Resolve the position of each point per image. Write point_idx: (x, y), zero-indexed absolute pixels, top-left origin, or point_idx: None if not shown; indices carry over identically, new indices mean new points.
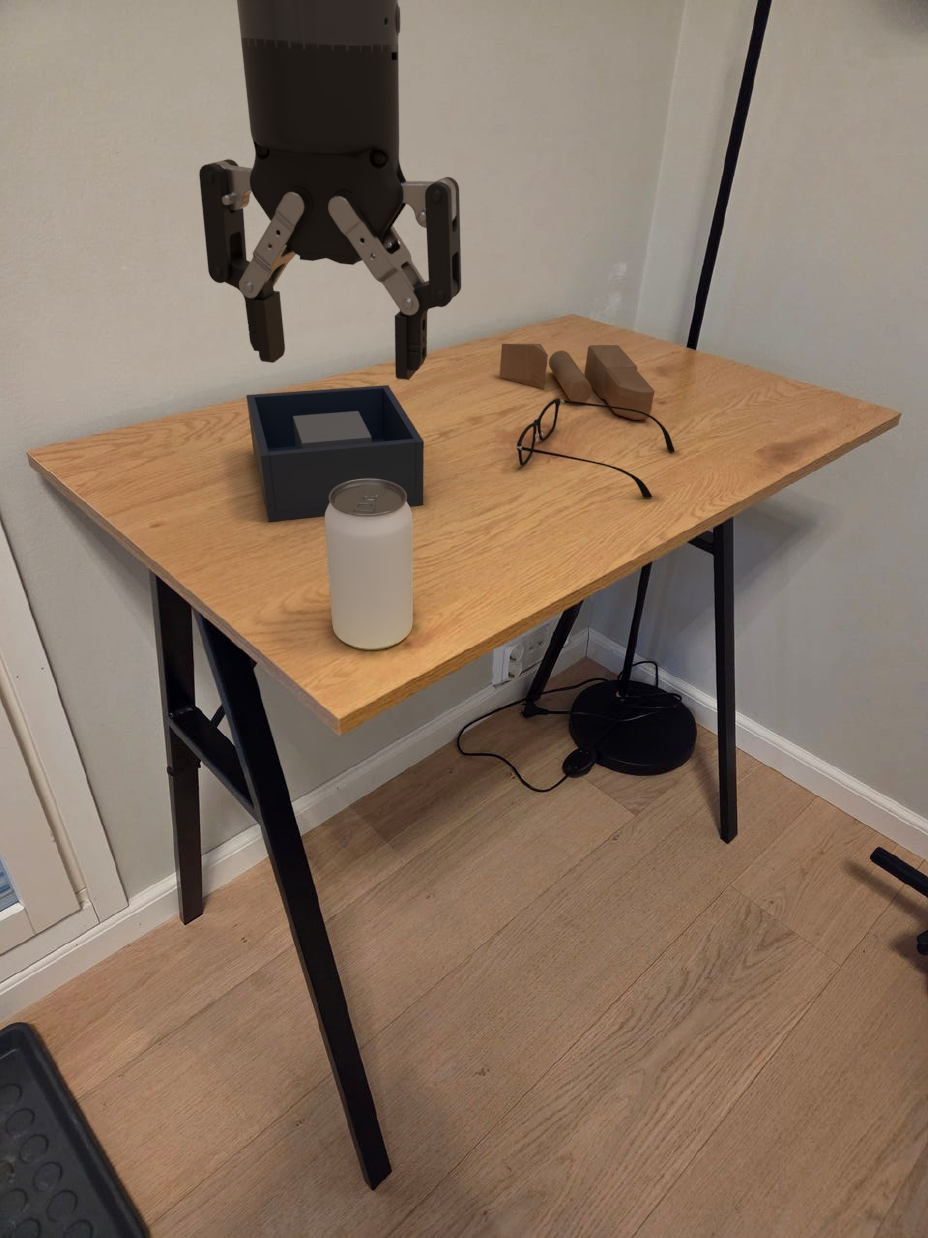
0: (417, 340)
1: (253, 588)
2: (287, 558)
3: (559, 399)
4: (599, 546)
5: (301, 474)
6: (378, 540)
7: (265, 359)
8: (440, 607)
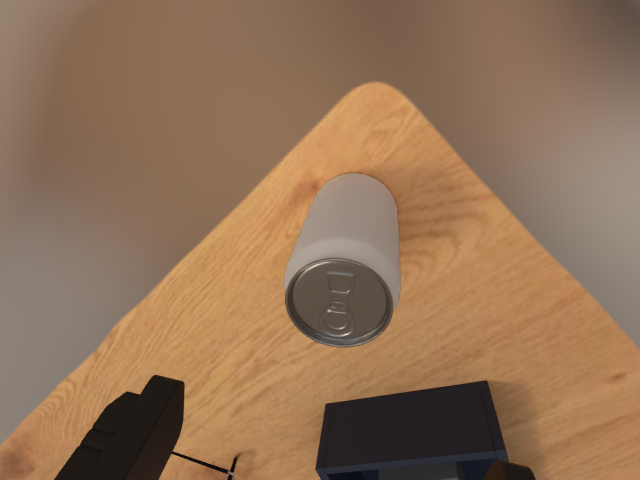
0: (78, 456)
1: (493, 272)
2: (460, 322)
3: None
4: (149, 340)
5: (454, 430)
6: (321, 236)
7: (515, 465)
8: (288, 246)
